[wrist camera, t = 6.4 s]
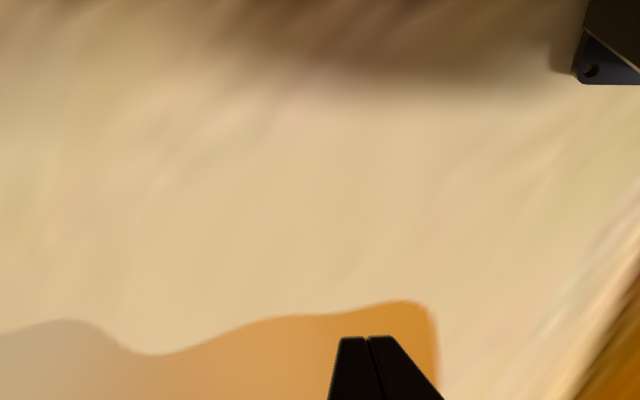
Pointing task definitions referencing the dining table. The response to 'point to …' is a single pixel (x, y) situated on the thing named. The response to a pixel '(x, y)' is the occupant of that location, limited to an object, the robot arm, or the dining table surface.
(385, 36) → the dining table surface
